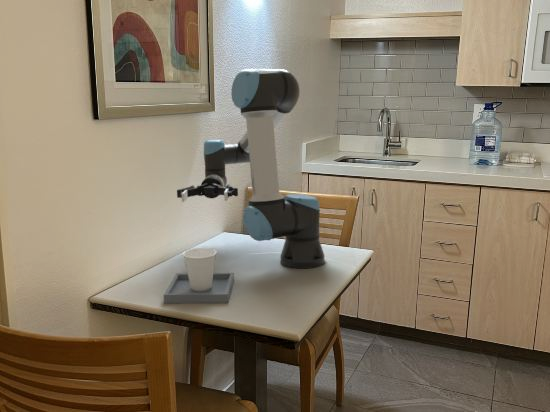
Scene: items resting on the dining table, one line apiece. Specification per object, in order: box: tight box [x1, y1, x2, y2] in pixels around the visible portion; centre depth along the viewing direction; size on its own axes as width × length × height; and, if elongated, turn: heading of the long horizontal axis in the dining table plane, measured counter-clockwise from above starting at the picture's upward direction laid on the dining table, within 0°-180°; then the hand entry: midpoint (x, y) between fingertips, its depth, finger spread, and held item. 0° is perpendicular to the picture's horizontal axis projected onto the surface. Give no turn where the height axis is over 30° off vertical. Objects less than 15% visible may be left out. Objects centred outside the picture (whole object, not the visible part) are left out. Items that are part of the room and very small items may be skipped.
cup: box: [182, 247, 218, 291], centre depth 162 cm, size 10×10×11 cm
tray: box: [163, 272, 235, 304], centre depth 162 cm, size 18×18×2 cm
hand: (204, 197), depth 174 cm, fingers open, 13 cm apart
